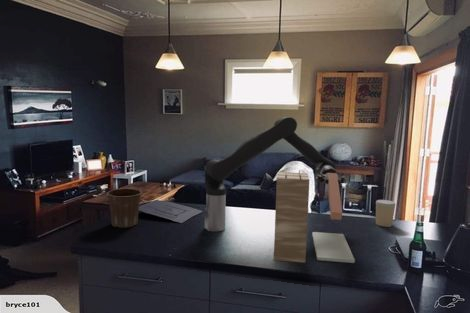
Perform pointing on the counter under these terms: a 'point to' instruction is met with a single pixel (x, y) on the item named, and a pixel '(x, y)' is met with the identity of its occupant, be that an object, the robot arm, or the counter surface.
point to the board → (332, 247)
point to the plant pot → (124, 207)
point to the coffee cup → (384, 212)
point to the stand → (291, 216)
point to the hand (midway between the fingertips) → (333, 182)
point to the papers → (169, 210)
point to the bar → (334, 196)
